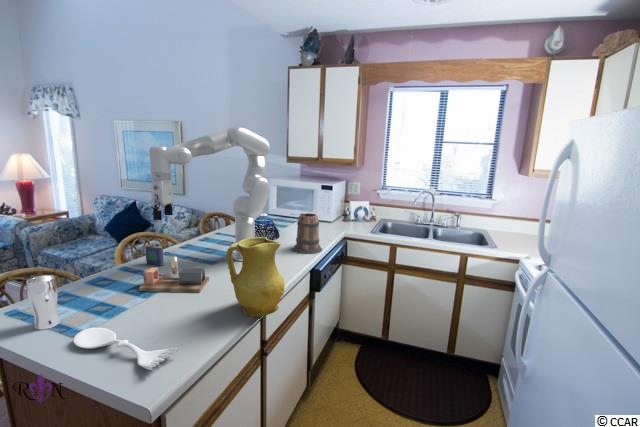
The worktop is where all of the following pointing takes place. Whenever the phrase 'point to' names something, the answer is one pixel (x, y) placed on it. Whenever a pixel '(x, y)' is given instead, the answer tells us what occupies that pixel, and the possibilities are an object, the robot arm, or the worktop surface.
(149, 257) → the flask
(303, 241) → the tankard
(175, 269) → the brushed metal peg
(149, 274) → the socket block
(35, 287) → the beer glass
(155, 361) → the spoon
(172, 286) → the base board
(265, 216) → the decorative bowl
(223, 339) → the worktop surface
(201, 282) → the outer sleeve
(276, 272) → the pitcher
